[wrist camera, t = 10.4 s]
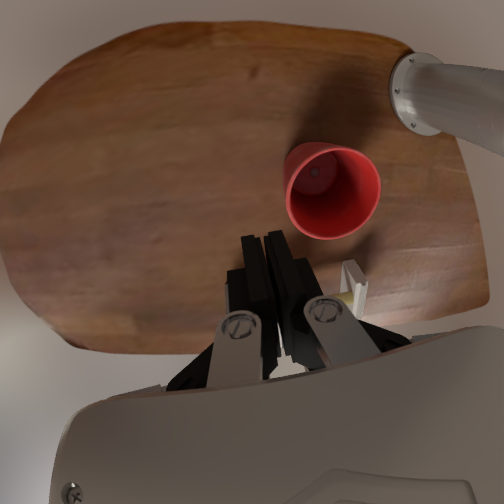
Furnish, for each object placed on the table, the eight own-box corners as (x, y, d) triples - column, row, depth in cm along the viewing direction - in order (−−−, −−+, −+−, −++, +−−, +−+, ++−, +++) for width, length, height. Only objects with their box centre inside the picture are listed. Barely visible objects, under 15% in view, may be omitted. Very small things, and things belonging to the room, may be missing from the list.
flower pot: (350, 198, 41) (381, 230, 33) (277, 212, 41) (292, 249, 33) (346, 126, 35) (381, 141, 27) (264, 137, 35) (278, 155, 27)
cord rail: (353, 259, 47) (376, 294, 39) (350, 292, 50) (369, 328, 43) (223, 279, 46) (225, 320, 38) (230, 311, 50) (233, 352, 42)
